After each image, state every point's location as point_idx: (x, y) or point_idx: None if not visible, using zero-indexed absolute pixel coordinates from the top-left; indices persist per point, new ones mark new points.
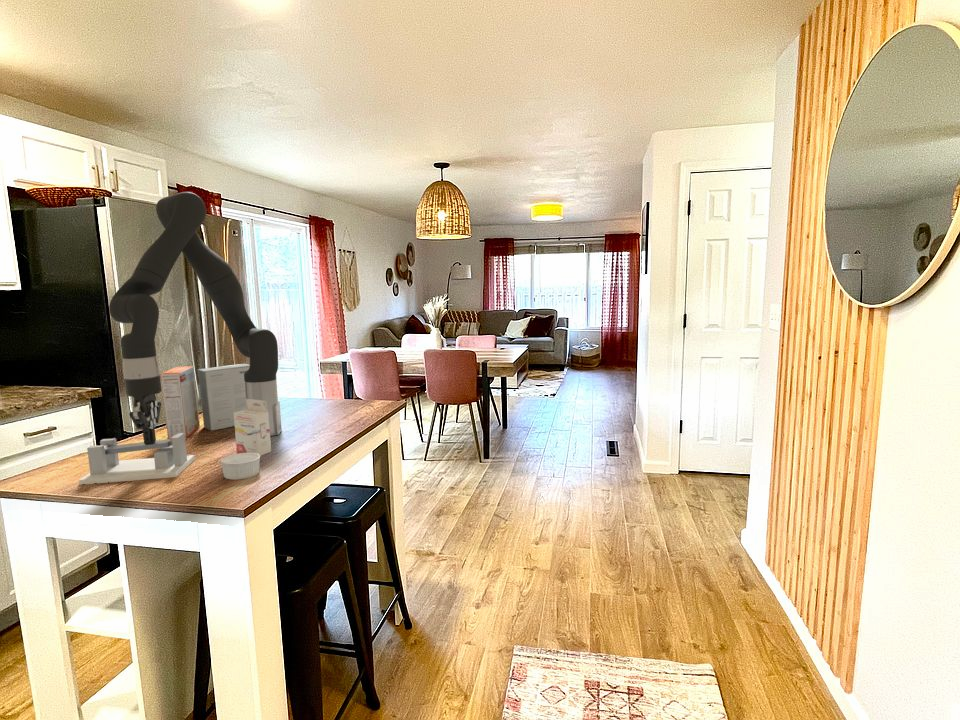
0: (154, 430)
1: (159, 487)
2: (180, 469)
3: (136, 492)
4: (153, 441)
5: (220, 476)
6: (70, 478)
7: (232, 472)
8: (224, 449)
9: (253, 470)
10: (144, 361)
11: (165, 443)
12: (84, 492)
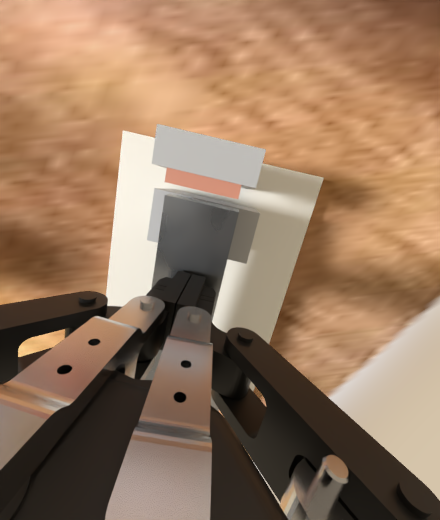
0: (166, 293)
1: (398, 217)
2: (278, 167)
3: (402, 273)
4: (204, 278)
5: (412, 6)
6: None
7: None
8: (28, 21)
9: None
10: None
11: (236, 222)
12: (315, 384)
